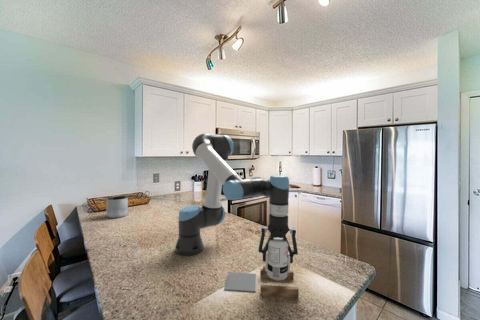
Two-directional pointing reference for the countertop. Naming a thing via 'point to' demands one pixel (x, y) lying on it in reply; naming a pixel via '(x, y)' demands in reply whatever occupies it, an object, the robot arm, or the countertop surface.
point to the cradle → (278, 287)
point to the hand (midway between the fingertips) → (277, 269)
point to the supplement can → (277, 259)
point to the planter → (116, 206)
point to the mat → (240, 282)
